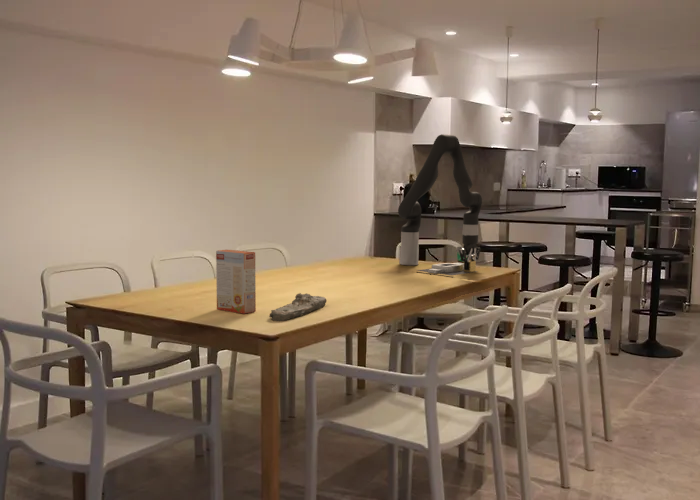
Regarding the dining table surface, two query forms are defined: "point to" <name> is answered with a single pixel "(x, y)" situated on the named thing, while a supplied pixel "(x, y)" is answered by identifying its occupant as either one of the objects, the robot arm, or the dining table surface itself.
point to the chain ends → (446, 268)
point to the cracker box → (236, 281)
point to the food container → (459, 255)
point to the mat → (445, 273)
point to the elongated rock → (298, 307)
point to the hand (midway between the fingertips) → (469, 269)
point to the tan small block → (471, 266)
